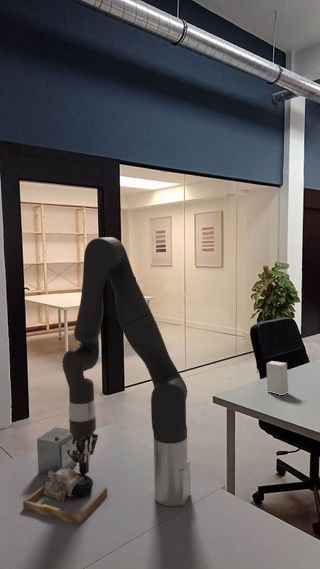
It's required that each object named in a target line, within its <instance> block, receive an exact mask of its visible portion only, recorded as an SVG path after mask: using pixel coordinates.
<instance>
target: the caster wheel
mask: <svg viewBox="0 0 320 569" xmlns="http://www.w3.org/2000/svg"><path fill="white" fill-rule="evenodd" d="M45 484H46V485H45V489H44V495H45V496H48V497H49V498H51V499H53V500H56V502H60V503H62V504H64V501H65V498H66V496H67V497H76V498H83V497H88V496H89V495H90V494H91V493H92V490H93V487H94V480H93V479H92V478H91V477H90V476H89V475H87V474H85V475H84V474H81V473H80V472H79V473H78V472H77V471H76V470H74V469H73V468H64V469H61V470H59V471H57V472H56V473H54V472H52V471H49V473H48V475H47V478H46V482H45Z"/></svg>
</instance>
